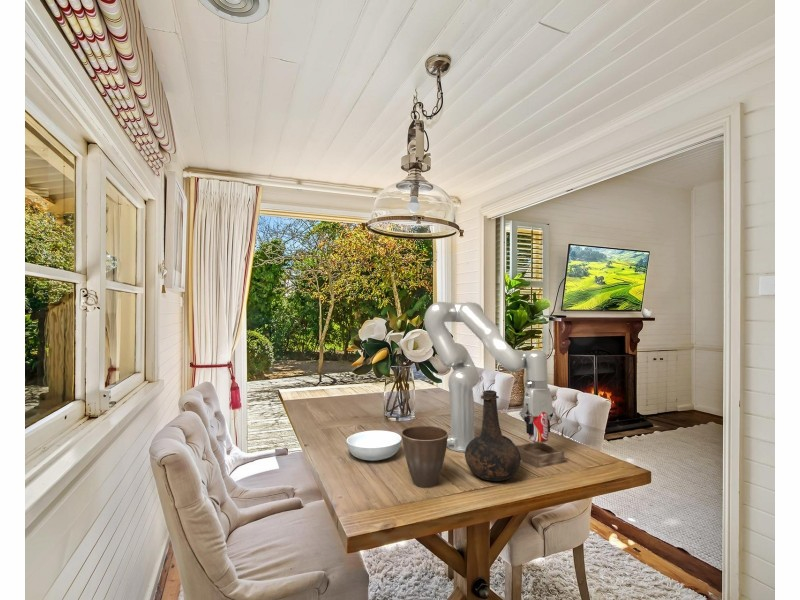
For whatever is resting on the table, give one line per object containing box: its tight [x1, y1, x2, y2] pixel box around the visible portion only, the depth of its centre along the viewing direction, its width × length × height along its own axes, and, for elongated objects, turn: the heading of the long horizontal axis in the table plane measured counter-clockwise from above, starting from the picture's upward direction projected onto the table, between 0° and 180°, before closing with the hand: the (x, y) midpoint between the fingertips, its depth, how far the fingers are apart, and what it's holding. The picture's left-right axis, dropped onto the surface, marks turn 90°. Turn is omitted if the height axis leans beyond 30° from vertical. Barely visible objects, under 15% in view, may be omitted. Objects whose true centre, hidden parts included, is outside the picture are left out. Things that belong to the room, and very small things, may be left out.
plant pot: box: [401, 425, 449, 489], centre depth 126 cm, size 15×15×16 cm
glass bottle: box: [464, 389, 522, 482], centre depth 131 cm, size 18×18×28 cm
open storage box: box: [515, 442, 568, 469], centre depth 146 cm, size 14×14×4 cm
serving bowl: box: [346, 429, 403, 462], centre depth 149 cm, size 21×21×7 cm
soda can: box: [528, 410, 549, 444], centre depth 146 cm, size 7×7×12 cm
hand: (538, 432), depth 146 cm, fingers closed on soda can, 7 cm apart
